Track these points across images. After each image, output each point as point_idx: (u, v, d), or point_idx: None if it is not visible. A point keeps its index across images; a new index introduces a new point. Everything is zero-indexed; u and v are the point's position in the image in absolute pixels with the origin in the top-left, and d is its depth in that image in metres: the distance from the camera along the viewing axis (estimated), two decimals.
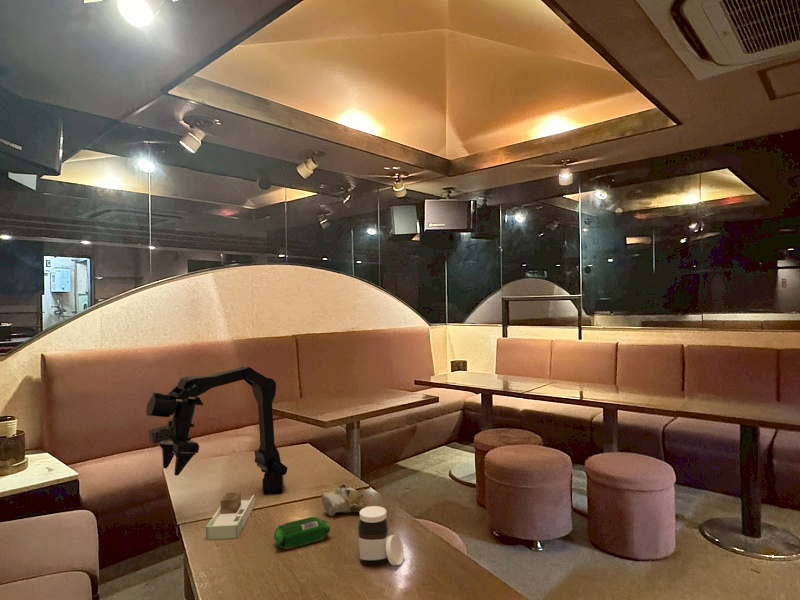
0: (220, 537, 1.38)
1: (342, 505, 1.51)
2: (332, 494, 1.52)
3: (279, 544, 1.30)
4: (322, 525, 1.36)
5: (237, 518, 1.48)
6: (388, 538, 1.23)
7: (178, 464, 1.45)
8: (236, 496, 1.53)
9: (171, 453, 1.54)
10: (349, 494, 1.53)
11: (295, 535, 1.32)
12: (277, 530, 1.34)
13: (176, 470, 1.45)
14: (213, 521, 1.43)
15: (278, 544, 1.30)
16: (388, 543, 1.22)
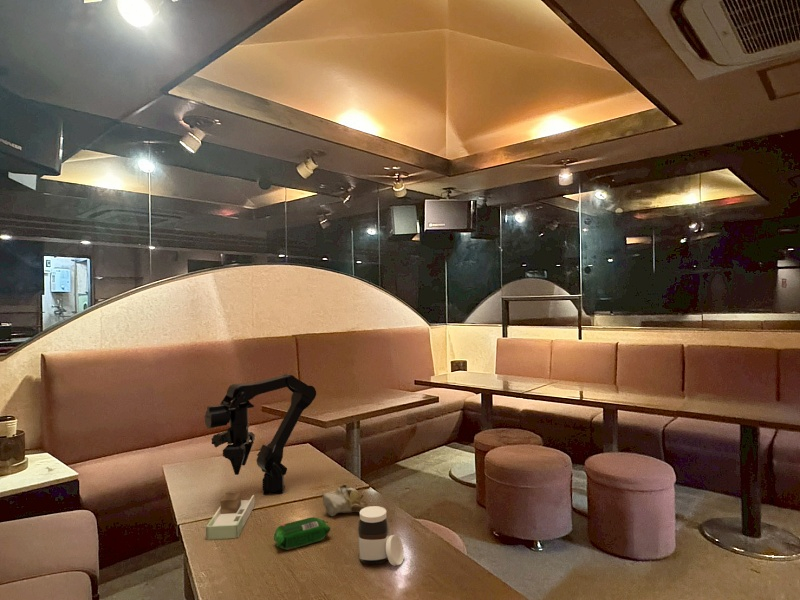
0: (220, 537, 1.38)
1: (343, 506, 1.51)
2: (333, 494, 1.52)
3: (280, 545, 1.30)
4: (322, 525, 1.36)
5: (237, 518, 1.48)
6: (388, 538, 1.23)
7: (234, 465, 1.59)
8: (236, 496, 1.53)
9: (246, 452, 1.70)
10: (350, 494, 1.52)
11: (296, 535, 1.31)
12: (277, 531, 1.33)
13: (234, 470, 1.60)
14: (213, 521, 1.43)
15: (279, 545, 1.30)
16: (388, 543, 1.22)
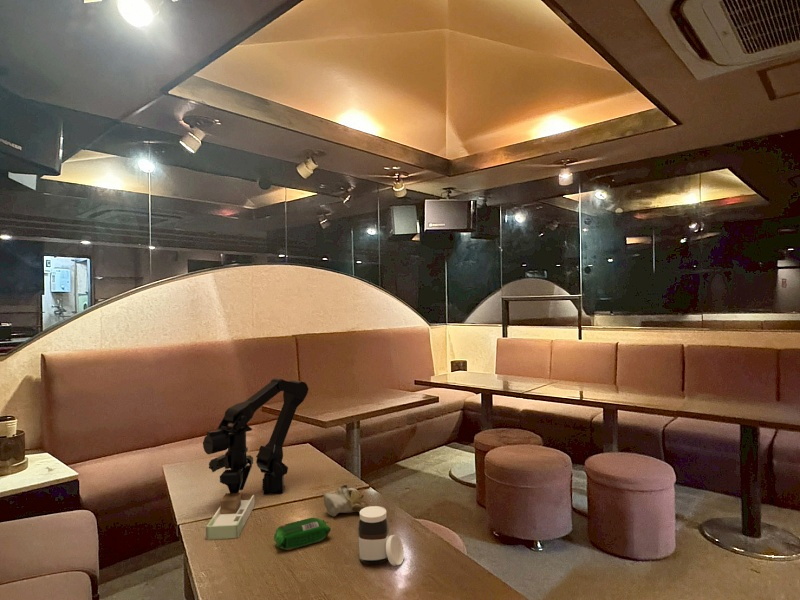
0: (220, 537, 1.38)
1: (344, 506, 1.51)
2: (334, 494, 1.52)
3: (280, 545, 1.29)
4: (323, 525, 1.35)
5: (237, 518, 1.48)
6: (388, 538, 1.23)
7: (231, 491, 1.56)
8: (236, 496, 1.53)
9: (244, 476, 1.67)
10: (351, 494, 1.52)
11: (296, 536, 1.31)
12: (277, 531, 1.33)
13: None
14: (213, 521, 1.43)
15: (279, 545, 1.29)
16: (388, 543, 1.22)
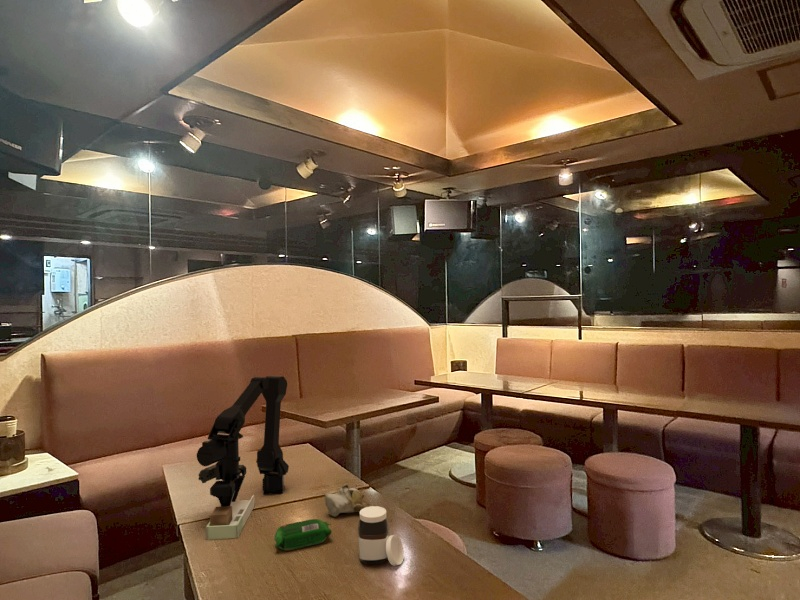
0: (220, 537, 1.38)
1: (346, 506, 1.51)
2: (335, 495, 1.52)
3: (278, 545, 1.29)
4: (323, 528, 1.34)
5: (237, 518, 1.48)
6: (388, 538, 1.23)
7: (222, 504, 1.46)
8: (227, 510, 1.43)
9: (236, 487, 1.57)
10: (352, 494, 1.52)
11: (295, 537, 1.31)
12: (278, 531, 1.33)
13: None
14: None
15: (277, 545, 1.29)
16: (388, 543, 1.22)
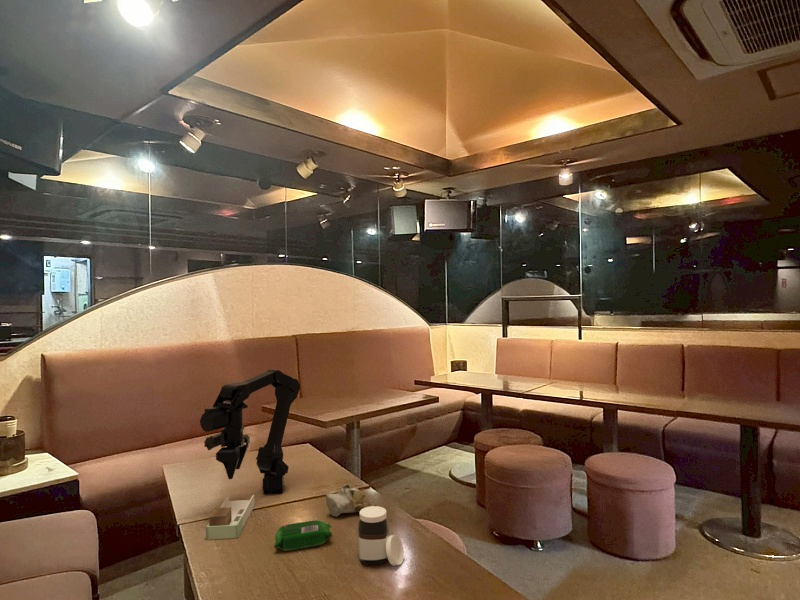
0: (220, 537, 1.38)
1: (347, 506, 1.50)
2: (336, 495, 1.52)
3: (277, 545, 1.29)
4: (322, 530, 1.33)
5: (237, 518, 1.48)
6: (388, 538, 1.23)
7: (227, 469, 1.52)
8: (226, 512, 1.42)
9: (240, 455, 1.63)
10: (353, 494, 1.52)
11: (293, 538, 1.30)
12: (278, 531, 1.33)
13: (228, 474, 1.53)
14: None
15: (276, 545, 1.29)
16: (388, 543, 1.22)
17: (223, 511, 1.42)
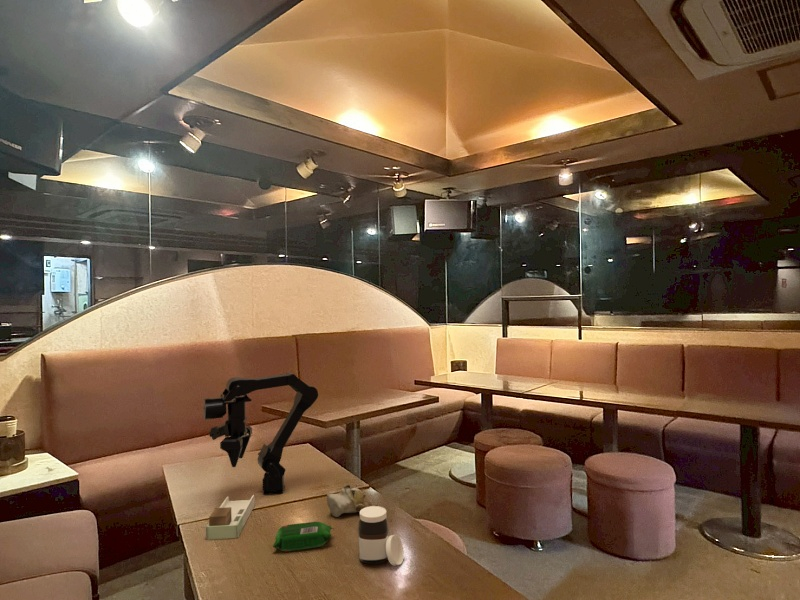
0: (220, 537, 1.38)
1: (348, 506, 1.50)
2: (337, 495, 1.52)
3: (275, 545, 1.29)
4: (321, 532, 1.32)
5: (237, 518, 1.48)
6: (388, 538, 1.23)
7: (231, 458, 1.61)
8: (226, 512, 1.42)
9: (243, 445, 1.72)
10: (354, 494, 1.52)
11: (292, 538, 1.30)
12: (278, 531, 1.33)
13: (231, 463, 1.62)
14: None
15: (275, 545, 1.29)
16: (388, 543, 1.22)
17: (223, 511, 1.42)
